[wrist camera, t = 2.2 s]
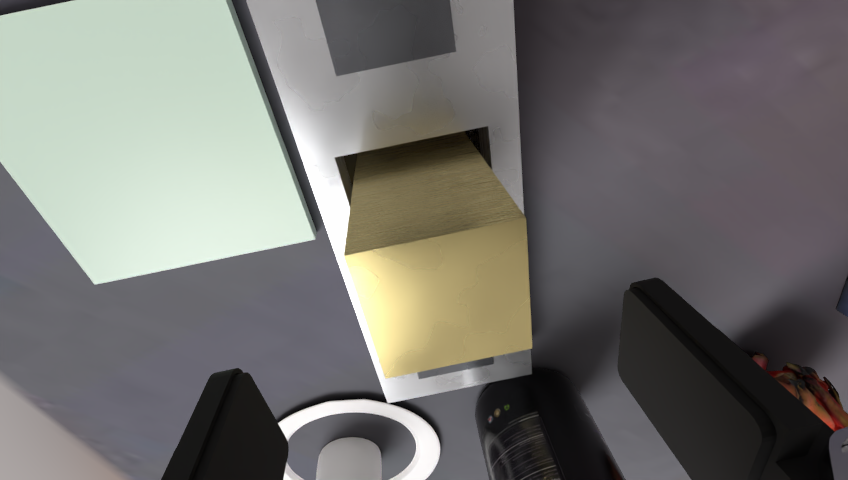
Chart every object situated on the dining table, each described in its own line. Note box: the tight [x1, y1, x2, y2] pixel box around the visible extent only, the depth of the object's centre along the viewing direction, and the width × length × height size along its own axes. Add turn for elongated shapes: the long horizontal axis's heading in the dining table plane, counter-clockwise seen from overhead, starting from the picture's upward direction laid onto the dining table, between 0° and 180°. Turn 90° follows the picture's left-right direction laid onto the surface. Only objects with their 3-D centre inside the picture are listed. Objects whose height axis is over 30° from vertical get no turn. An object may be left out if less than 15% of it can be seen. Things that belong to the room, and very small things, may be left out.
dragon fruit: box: [752, 352, 848, 431], centre depth 24 cm, size 8×8×12 cm
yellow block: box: [344, 131, 532, 379], centre depth 14 cm, size 4×4×8 cm
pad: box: [0, 0, 317, 284], centre depth 15 cm, size 10×10×1 cm
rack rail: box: [246, 0, 532, 403], centre depth 17 cm, size 22×8×2 cm, turn 10°
